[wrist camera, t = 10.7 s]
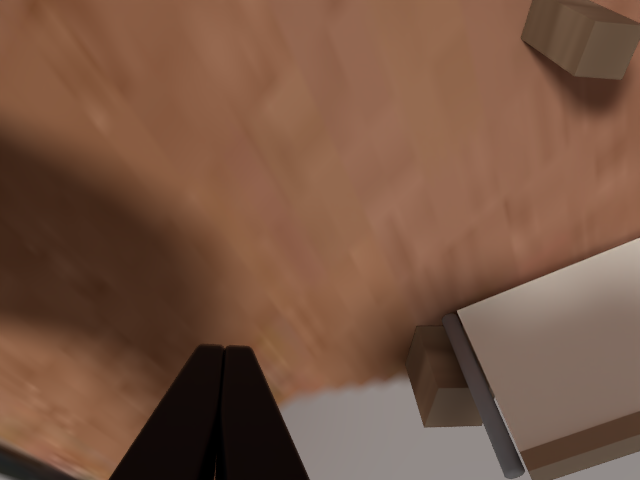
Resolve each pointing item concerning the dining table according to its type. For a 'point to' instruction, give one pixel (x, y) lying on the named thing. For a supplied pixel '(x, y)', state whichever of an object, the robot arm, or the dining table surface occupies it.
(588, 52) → the gate frame
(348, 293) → the dining table surface
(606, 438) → the gate
